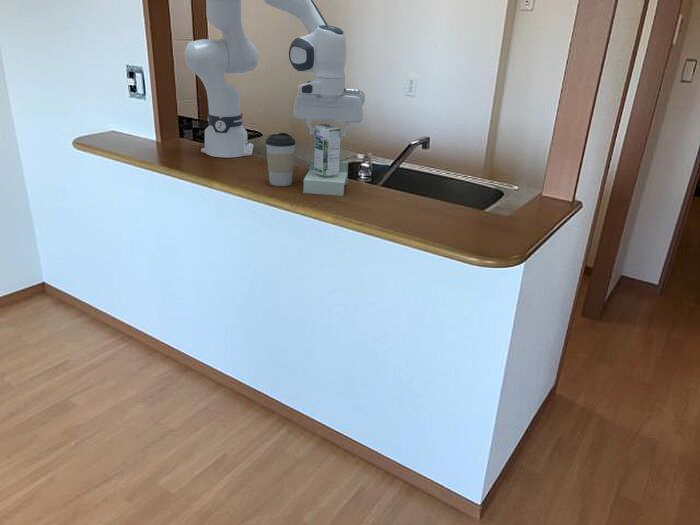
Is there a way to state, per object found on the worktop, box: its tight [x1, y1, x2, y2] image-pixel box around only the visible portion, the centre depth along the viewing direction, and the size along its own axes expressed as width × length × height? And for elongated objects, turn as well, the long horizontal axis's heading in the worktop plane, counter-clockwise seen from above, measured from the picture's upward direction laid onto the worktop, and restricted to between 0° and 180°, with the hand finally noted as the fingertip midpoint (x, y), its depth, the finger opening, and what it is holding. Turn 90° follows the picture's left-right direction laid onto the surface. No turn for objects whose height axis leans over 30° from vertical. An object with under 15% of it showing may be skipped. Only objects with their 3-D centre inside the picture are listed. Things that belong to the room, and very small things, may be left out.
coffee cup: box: [265, 132, 296, 187], centre depth 170 cm, size 9×9×15 cm
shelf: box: [302, 159, 349, 197], centre depth 169 cm, size 13×12×7 cm
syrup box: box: [313, 123, 342, 176], centre depth 166 cm, size 6×6×14 cm
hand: (327, 135), depth 164 cm, fingers closed on syrup box, 7 cm apart
